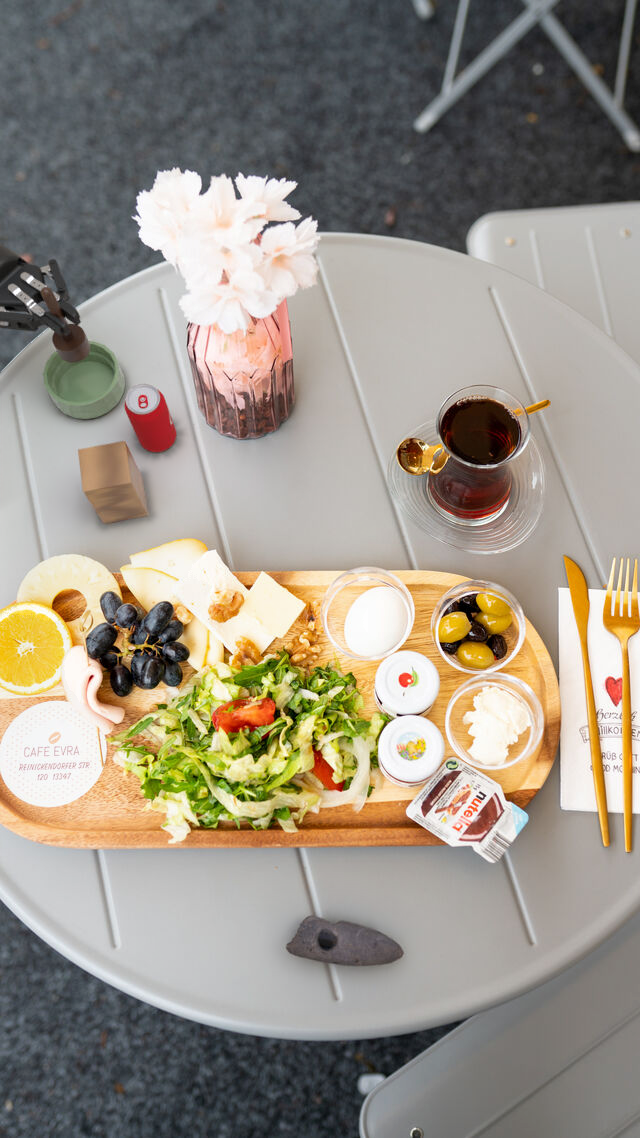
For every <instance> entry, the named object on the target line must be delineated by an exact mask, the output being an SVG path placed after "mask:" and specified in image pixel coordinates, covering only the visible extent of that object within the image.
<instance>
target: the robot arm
mask: <svg viewBox="0 0 640 1138" xmlns="http://www.w3.org/2000/svg"><path fill="white" fill-rule="evenodd" d="M45 277H47V278H48V279H49V280H50V281H52V282H54V285H55V287H56V292H55V291H53V293H54V295H55V298H56V300H57V302H58V304H59V306H60V308H61V310H62V312H63V314H64V316H65V319H66V320H68V321H69V322H71V323H72V324H75V325H77V326H80V324H81V323H82V321H81V319H80V318H81V316H80V314H79V311H78V310H77V308H76V307H74V306H73V305H72V304H70V303H69V301H70V299H71V296H70V293H69V290H68V287H67V283H66V282H65V281H66V280H65V278H64V276H63V272H62V270H61V268H60V266H59V263H58V262H57V259H55V258H52V259H50V260H49V261H48V265H44V266H41V267H40V266H39V265H37V264H32V263H29V262H28V261H26V260H25V259H23V258H22V257H21V256H19V254H16V253H15V252H14V251H13V250H11V249H10V248H9V247H7V246H5V245H4V244H3V243H2V242H1V241H0V329H5V330H6V329H7V330H15V331H24V332H34V333H35V332H37V331H38V330H39V328H40V327H41V326H43V327H47V328H49V330H51V331H53V333H54V332H56V333H57V334H59V335H63V334H65V335H66V336H67V335H68V334H69V333H70V330H69V328H68V326H67V325H66V324H65V323H64V322H63V321H61V320H60V319H59V318H57V317H56V316H54V315H53V314H51V313H50V311H49V310H48V311H45V309H44V308H42V307H41V306H40V305H39V304H40V303H42V304H44V305H46V303H45V301H44V299H43V297H42V295H41V289H42V288H43V287H48V285H46V281H45ZM46 306H47V305H46Z"/></svg>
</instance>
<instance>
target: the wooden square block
mask: <svg viewBox="0 0 640 1138" xmlns="http://www.w3.org/2000/svg"><path fill="white" fill-rule="evenodd" d="M77 454H78V462H79V463H78V464H79V470H80V478H81V486H82V492H83V494H84V496H85V497H86V499H87V500H88V501H89V503H90V504H91V506H92V508H93V509H94V511H95V512H96V514H97V516H98V517H99V519H100V520H101V521H102V523H103V525H107V524H112V523H118V522H122V521H127V520H132V519H138V518H139V519H140V518H144V517H148V516H149V512H148V505H147V497H146V493H145V486H144V479H143V475H142V474H141V471H140V469H139V467H138V465H137V463H136V460H135V459H134V457H133V455H132V452H131V450H130V447H129V446H128V444H127V442H126V440H121V441H116V442H110V443H105V444H100V445H95V446H89V447H84V448H79V449H77Z"/></svg>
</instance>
